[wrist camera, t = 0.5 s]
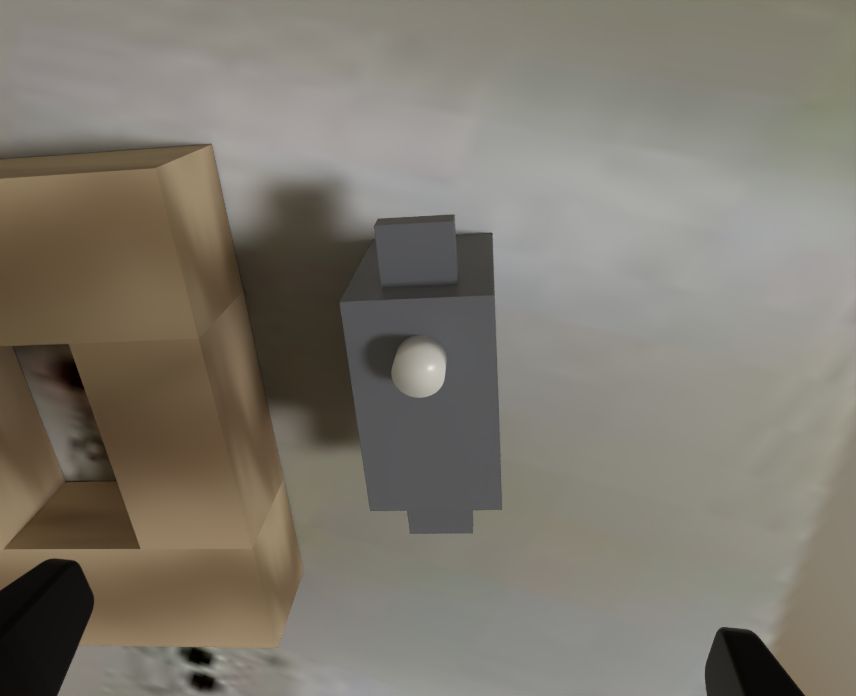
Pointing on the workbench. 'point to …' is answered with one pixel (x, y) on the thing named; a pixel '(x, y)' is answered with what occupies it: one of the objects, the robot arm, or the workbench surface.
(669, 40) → the workbench surface
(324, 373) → the workbench surface
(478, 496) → the servo
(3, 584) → the tan flat block
